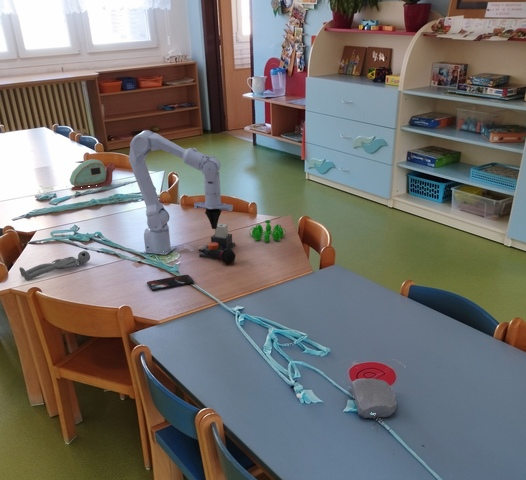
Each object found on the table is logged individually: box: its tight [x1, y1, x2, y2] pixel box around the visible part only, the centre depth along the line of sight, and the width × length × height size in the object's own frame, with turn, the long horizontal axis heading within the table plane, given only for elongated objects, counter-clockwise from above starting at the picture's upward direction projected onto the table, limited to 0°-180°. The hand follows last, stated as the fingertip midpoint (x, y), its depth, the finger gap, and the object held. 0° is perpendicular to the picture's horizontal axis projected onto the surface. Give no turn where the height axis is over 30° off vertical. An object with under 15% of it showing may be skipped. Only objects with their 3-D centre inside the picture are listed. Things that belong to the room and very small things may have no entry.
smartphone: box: [146, 274, 195, 291], centre depth 198 cm, size 7×1×15 cm
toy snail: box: [69, 158, 116, 191], centre depth 304 cm, size 25×8×14 cm, turn 122°
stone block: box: [350, 377, 398, 419], centre depth 137 cm, size 12×5×10 cm
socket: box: [210, 233, 233, 248], centre depth 226 cm, size 6×6×5 cm
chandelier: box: [249, 220, 287, 243], centre depth 235 cm, size 15×15×7 cm
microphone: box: [198, 248, 236, 265], centre depth 217 cm, size 6×6×20 cm
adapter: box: [199, 241, 236, 261], centre depth 224 cm, size 8×16×3 cm, turn 159°
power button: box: [207, 241, 218, 250], centre depth 219 cm, size 4×4×2 cm
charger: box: [214, 223, 229, 238], centre depth 224 cm, size 4×3×6 cm
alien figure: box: [18, 250, 91, 281], centre depth 208 cm, size 8×5×25 cm
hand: (214, 228), depth 218 cm, fingers closed
